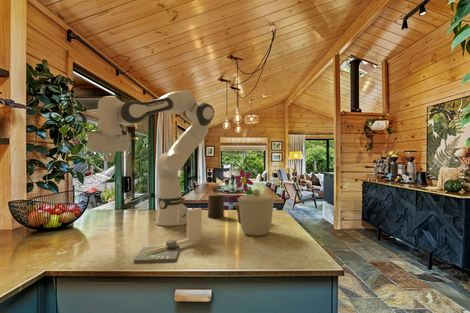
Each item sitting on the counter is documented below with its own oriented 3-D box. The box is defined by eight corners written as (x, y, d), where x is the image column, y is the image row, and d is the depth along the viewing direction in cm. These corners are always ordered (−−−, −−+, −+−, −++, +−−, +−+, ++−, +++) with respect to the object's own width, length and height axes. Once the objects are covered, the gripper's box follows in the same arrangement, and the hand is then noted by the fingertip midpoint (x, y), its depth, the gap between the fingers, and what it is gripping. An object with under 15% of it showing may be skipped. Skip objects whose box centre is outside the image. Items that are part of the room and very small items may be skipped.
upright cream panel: (197, 237, 118) (197, 207, 119) (203, 239, 116) (203, 208, 116) (142, 252, 99) (143, 216, 99) (148, 255, 96) (149, 218, 96)
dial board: (143, 249, 106) (143, 246, 106) (179, 248, 108) (179, 245, 108) (133, 262, 93) (133, 259, 93) (175, 261, 94) (175, 258, 94)
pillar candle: (217, 219, 161) (217, 193, 162) (204, 217, 167) (205, 192, 167) (226, 216, 170) (227, 192, 170) (214, 214, 175) (214, 191, 175)
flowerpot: (229, 222, 153) (229, 169, 153) (243, 218, 164) (243, 168, 165) (251, 226, 144) (251, 169, 145) (264, 221, 156) (264, 169, 157)
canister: (231, 230, 136) (231, 188, 136) (263, 227, 143) (263, 186, 143) (247, 240, 119) (247, 192, 119) (282, 236, 126) (282, 190, 127)
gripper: (92, 129, 116) (93, 161, 116) (131, 132, 134) (132, 160, 134) (83, 130, 119) (84, 162, 119) (122, 133, 137) (123, 160, 137)
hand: (109, 161), depth 127 cm, fingers closed
